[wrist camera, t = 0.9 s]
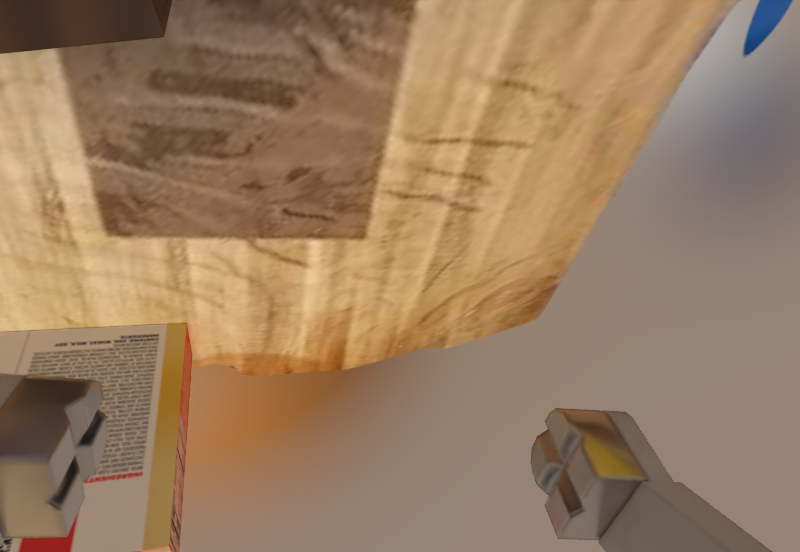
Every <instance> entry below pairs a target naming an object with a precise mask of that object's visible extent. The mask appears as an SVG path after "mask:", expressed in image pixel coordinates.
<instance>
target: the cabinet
mask: <svg viewBox="0 0 800 552" xmlns="http://www.w3.org/2000/svg"><path fill="white" fill-rule="evenodd" d="M171 3H172V0H0V54H2V53H12V52H22V51H32V50H42V49H52V48H61V47H71V46H81V45H91V44H101V43H111V42H120V41H130V40H140V39H150V38H160V37H164V34H165V30H166V26H167V21H168V17H169V12H170V7H171Z"/></svg>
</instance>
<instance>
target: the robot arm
mask: <svg viewBox="0 0 800 552" xmlns="http://www.w3.org/2000/svg"><path fill="white" fill-rule="evenodd" d="M103 397H104V395H103V390H102V385H101V382H99V381H96V380H86V379H74V378H63V377H51V376H39V375H20V374H8V373H0V545H1V544H2V543H3V542H4V540H3V539H8V538H53V537H67V536H68V534H69V532H70V530H71V527H72V525H73V523H74V521H75V518H76V516H77V514H78V512H79V509H80V507H81V505H82V503H83V501H84V498H85V495H84V490H83V484H82V483H83V482H84V481H85V480H87V479H88V478H89V477H91V476H92V475H93V474H95V473H96V471H97V469H98V466H99V464H100V462H101V459H102V457H103V453H104V449H105V445H106V441H107V429H108V425H107V416H106V415H105V414H104V413H103V412H102V411H101V410H99V409H98V408H99V406H100V404H101V401H102V399H103ZM545 423H546V425H547V428H548V430H546V431H545V432H543V433H542V434H540V435H539V436H537V438H536V440H535V442H534V444H533V447H532V452H531V466H532V472H533V475H534V478H535V481H536V484H537V485H538V486H539V487H540V488H541V489H542V490H543V491H544V492H545V493H546V494H547V495H548V498H547V501H546V504H545V507H546V510H547V512H548V515H549V517H550V520H551V523H552V525H553V528H554V530H555V533H556V535H557V538H558V539H578V540H600V541H599V542H598V543H599V544H600V545H601V546H602V547H603V549H604V550H605V551H606V552H772V551H770V550H769V549H768V548H767V547H765V546H764V545H763V544H761V543H760V542H759V541H758V540H756V539H755V538H754V537H752V536H751V535H750V534H748V533H747V532H745V531H744V530H743V529H742V528H740V527H739V526H738V525H736V524H735V523H734V522H733V521H731V520H730V519H728V518H727V517H726V516H725V515H723V514H722V513H721V512H719V511H718V510H717V509H715V508H714V507H713V506H711V505H710V504H709V503H707V502H706V501H705V500H704V499H702V498H701V497H700V496H698V495H697V494H695V493H694V492H693V491H692V490H690V489H689V488H688V487H686V486H685V485H684V484H682V483H680V482H674V481H673V480H672V478H671V476H670V475H669V473H668V472H667V470H666V469H665V467H664V466H663V464H662V463H661V461H660V459H659V458H658V456H657V455H656V453H655V452H654V450H653V449H652V447H651V446H650V444H649V442H648V441H647V439H646V438H645V436H644V434H643V433H642V431H641V430H640V428H639V427H638V425H637V424H636V422H635V420H634V419H633V418H632V417H631V416H630V415H629V414H627V413H626V412H618V411H599V410H580V409H561V408H555V409H554V410H552V411H551V412H550V413H549V415H548V417H547V419H546V420H545Z"/></svg>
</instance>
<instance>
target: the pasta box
mask: <svg viewBox="0 0 800 552" xmlns="http://www.w3.org/2000/svg"><path fill="white" fill-rule="evenodd" d="M191 366H192V351H191V345H190V339H189V334H188V328H187V323H178V324H157V325H137V326H116V327H96V328H75V329H55V330H34V331H13V332H0V373H8V374H20V375H39V376H51V377H63V378H74V379H86V380H96V381H99V382H101V385H102V390H103V395H104V397H103V399H102V401H101V404H100V406H99V408H98V409H99V410H101V411H102V412H103V413H104V414H105V415H106V416H107V425H108V429H107V441H106V445H105V449H104V453H103V457H102V459H101V462H100V464H99V466H98V469H97V471H96V473H95V474H93V475H92V476H91V477H89V478H88V479H87V480H85V481H84V482H83V483H82V484H83V490H84V495H85V498H84V501H83V503H82V505H81V507H80V509H79V512H78V514H77V516H76V518H75V521H74V523H73V525H72V527H71V530H70V532H69V534H68V536H67V537H53V538H8V539H3V540H4V542H3V543H2V544H1V545H0V552H179V546H180V530H181V515H182V501H183V486H184V471H185V456H186V441H187V426H188V411H189V396H190V381H191Z"/></svg>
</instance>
